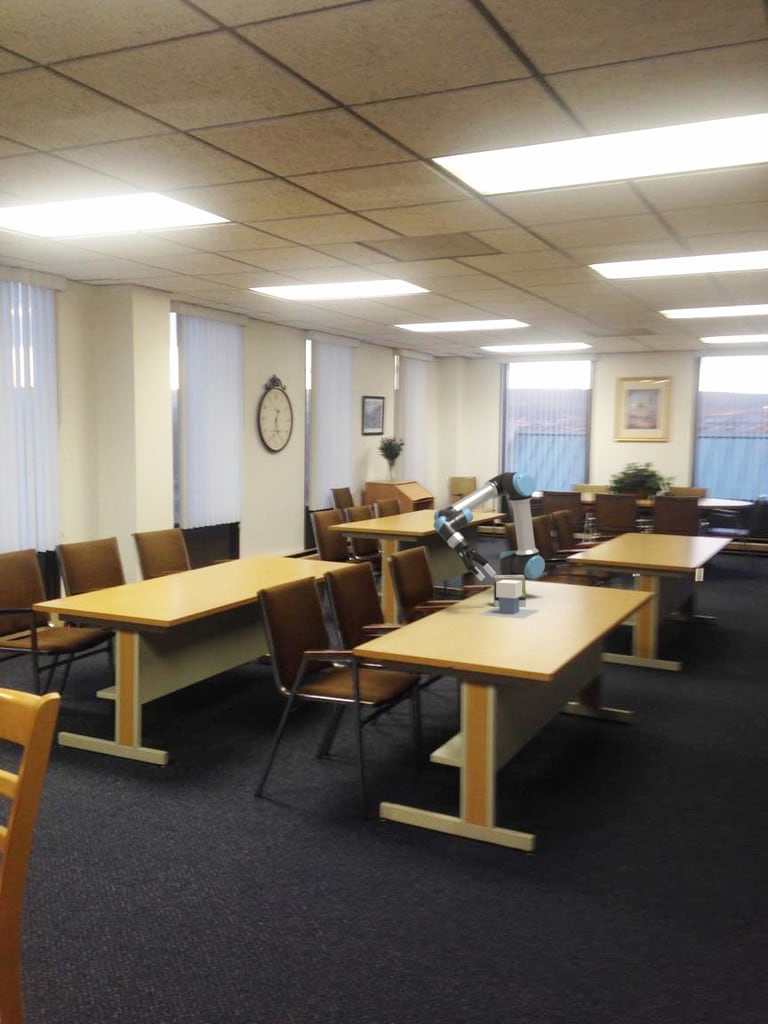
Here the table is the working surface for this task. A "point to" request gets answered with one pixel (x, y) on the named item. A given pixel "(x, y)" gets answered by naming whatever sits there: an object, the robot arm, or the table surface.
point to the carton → (508, 605)
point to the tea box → (511, 577)
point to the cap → (508, 588)
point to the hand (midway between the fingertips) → (488, 577)
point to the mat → (521, 614)
